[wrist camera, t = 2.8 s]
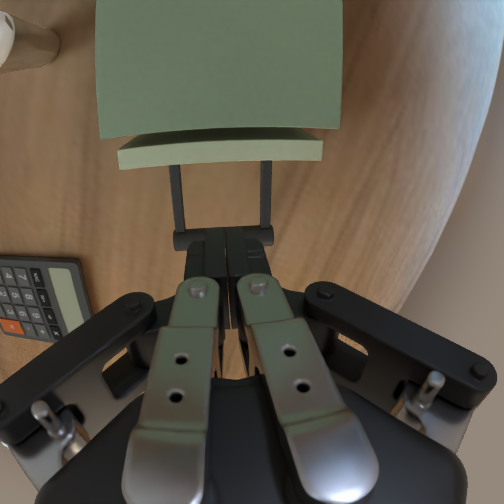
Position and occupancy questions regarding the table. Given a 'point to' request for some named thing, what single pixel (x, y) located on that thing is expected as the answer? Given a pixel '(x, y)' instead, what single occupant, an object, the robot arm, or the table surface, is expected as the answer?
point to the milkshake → (25, 44)
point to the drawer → (220, 150)
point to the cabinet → (217, 64)
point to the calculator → (42, 297)
